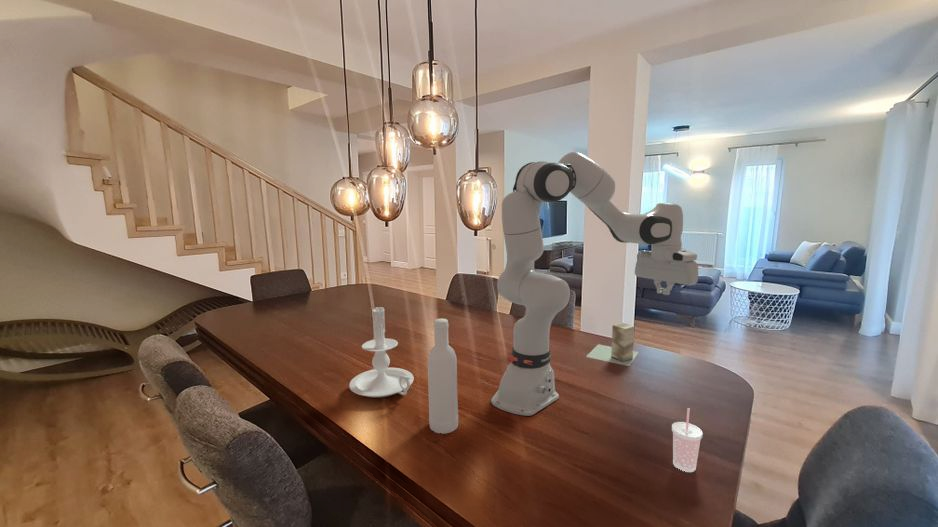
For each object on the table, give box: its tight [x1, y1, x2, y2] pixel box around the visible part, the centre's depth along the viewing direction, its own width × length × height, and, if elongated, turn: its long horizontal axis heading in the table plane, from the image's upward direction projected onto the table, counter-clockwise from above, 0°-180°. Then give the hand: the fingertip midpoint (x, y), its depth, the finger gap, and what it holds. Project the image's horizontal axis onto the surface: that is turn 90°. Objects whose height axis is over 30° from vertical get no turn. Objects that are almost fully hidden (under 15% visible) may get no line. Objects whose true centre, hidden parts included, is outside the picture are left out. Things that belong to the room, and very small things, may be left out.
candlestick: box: [348, 306, 415, 398], centre depth 124 cm, size 21×25×28 cm
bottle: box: [426, 318, 459, 435], centre depth 103 cm, size 8×8×30 cm
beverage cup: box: [671, 407, 704, 473], centre depth 87 cm, size 6×6×14 cm
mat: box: [585, 343, 639, 367], centre depth 152 cm, size 16×16×1 cm
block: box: [611, 322, 635, 362], centre depth 147 cm, size 6×6×13 cm
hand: (663, 293), depth 129 cm, fingers closed
